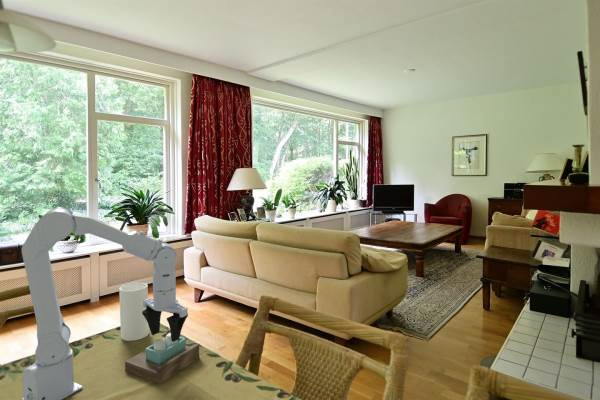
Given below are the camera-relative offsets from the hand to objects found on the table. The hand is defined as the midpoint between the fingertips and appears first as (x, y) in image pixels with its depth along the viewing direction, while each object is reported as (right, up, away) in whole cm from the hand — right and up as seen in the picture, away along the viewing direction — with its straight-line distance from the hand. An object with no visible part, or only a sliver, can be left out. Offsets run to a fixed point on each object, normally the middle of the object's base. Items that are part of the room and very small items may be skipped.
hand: (165, 336), depth 97 cm
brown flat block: (-1, -8, +1) cm, 8 cm away
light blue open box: (0, -5, +1) cm, 6 cm away
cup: (-17, -6, +18) cm, 25 cm away
